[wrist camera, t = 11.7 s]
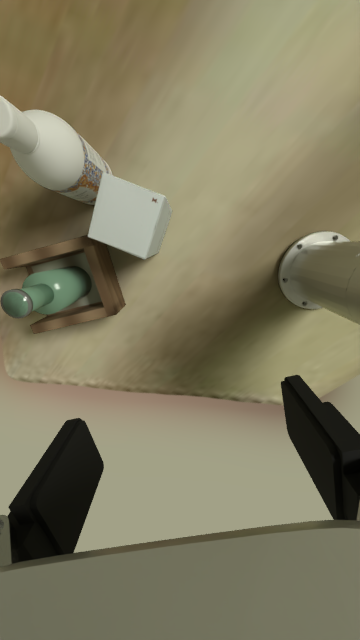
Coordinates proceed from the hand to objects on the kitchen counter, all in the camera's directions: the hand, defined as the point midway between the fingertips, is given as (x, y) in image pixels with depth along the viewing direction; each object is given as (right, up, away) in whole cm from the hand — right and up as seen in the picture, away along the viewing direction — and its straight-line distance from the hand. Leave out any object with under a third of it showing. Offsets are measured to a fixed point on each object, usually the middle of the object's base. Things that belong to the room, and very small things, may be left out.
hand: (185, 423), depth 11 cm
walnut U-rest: (-18, +11, +31) cm, 37 cm away
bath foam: (-14, +26, +26) cm, 39 cm away
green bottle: (-18, +11, +29) cm, 36 cm away
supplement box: (-6, +20, +28) cm, 35 cm away
